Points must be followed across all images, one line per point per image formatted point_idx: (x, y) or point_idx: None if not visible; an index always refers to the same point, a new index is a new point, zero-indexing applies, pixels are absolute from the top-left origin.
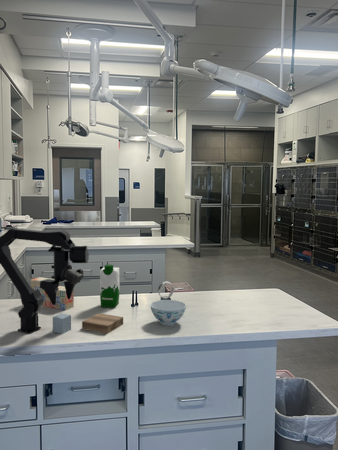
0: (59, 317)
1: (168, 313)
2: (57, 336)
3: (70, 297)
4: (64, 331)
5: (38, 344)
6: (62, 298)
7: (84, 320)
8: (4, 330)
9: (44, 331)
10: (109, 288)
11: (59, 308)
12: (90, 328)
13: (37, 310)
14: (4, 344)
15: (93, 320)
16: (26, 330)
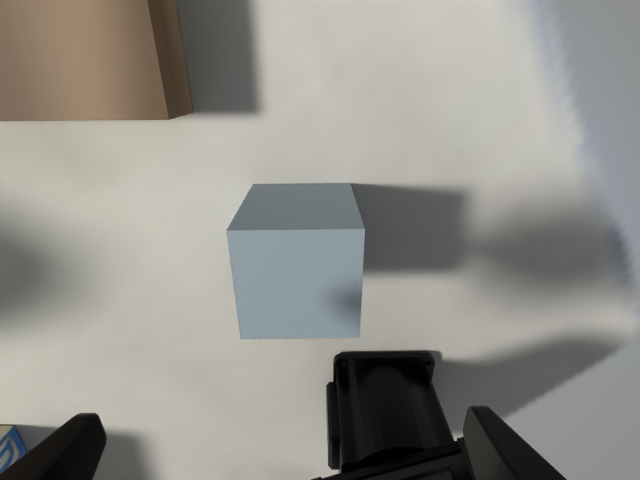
0: (343, 281)
1: None
2: (412, 183)
3: (63, 429)
4: (333, 187)
5: (581, 202)
6: None
7: (129, 117)
8: None
9: (366, 310)
10: None
11: None
12: (170, 8)
13: (441, 474)
14: (608, 356)
15: (61, 21)
16: (431, 383)
